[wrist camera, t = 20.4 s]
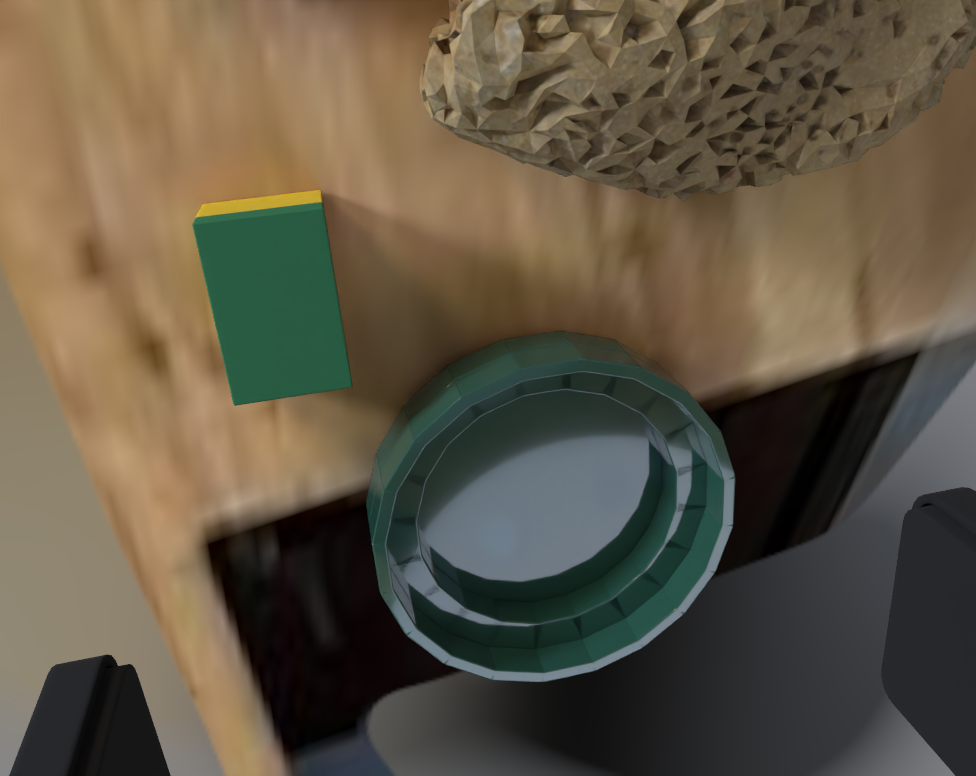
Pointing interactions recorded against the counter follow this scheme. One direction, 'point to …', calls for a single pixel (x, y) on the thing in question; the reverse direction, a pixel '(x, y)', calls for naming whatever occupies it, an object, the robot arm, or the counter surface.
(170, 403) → the counter surface
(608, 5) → the sponge
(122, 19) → the counter surface
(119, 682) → the robot arm
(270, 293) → the small sponge
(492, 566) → the bowl
